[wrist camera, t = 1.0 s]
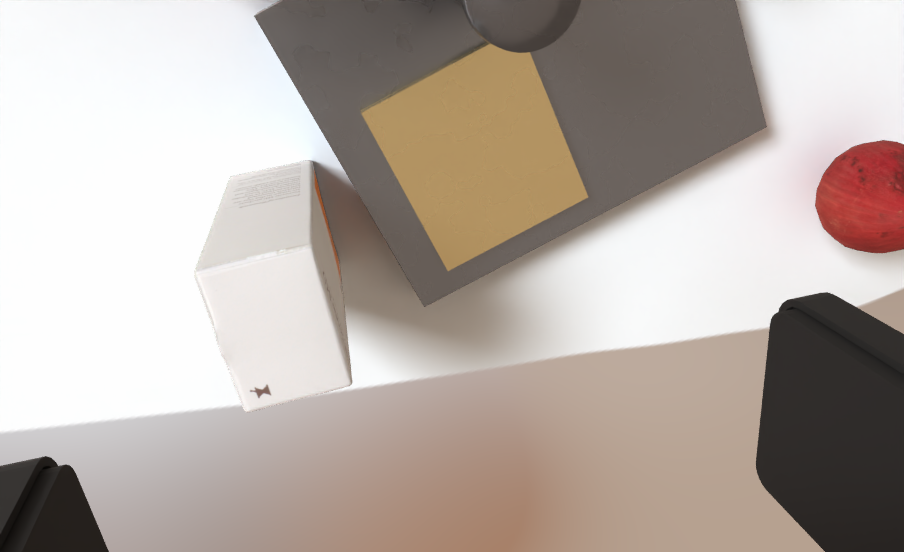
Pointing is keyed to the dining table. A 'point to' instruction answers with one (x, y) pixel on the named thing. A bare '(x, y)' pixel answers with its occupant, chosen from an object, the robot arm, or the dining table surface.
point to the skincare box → (275, 288)
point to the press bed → (511, 113)
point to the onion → (865, 197)
